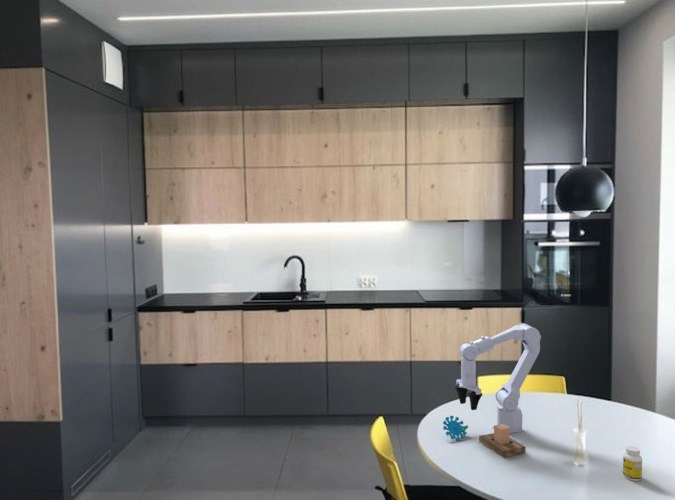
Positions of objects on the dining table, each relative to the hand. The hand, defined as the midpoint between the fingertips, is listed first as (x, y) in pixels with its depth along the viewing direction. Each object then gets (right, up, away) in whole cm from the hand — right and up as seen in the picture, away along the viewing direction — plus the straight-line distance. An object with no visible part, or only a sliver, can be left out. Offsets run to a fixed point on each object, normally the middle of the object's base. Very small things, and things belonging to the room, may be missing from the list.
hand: (468, 406), depth 205 cm
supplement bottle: (+44, -12, -39) cm, 60 cm away
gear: (-6, -11, -6) cm, 14 cm away
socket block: (+9, -11, -15) cm, 21 cm away
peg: (+9, -11, -15) cm, 21 cm away
